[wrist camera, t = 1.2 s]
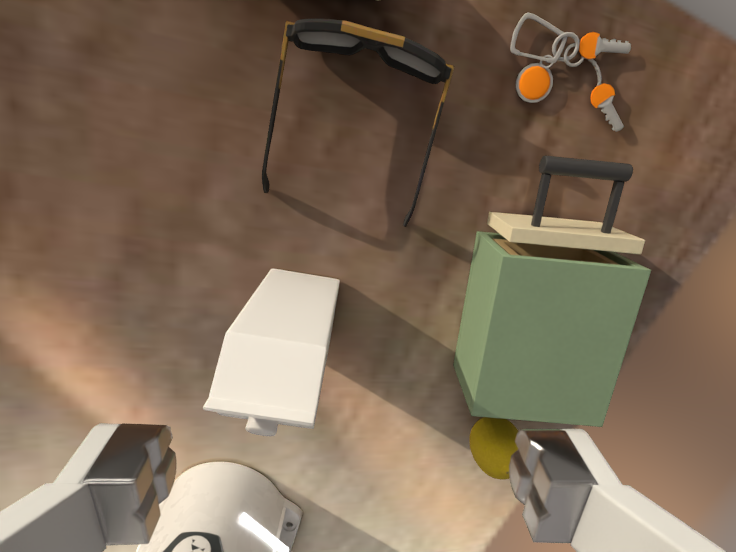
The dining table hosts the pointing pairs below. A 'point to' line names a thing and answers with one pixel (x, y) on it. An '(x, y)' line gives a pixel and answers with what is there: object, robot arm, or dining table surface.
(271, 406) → the milk carton
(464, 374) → the cabinet
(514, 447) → the lemon
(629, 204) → the dining table surface
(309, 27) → the sunglasses
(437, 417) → the dining table surface
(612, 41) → the key chain
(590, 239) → the drawer
